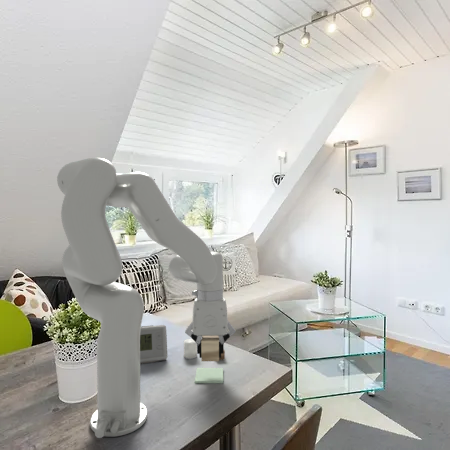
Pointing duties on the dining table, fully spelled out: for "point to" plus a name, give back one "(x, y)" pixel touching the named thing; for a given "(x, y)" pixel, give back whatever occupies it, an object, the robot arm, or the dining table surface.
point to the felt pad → (209, 375)
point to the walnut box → (222, 356)
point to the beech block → (210, 348)
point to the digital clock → (153, 343)
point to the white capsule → (190, 349)
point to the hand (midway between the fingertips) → (210, 355)
